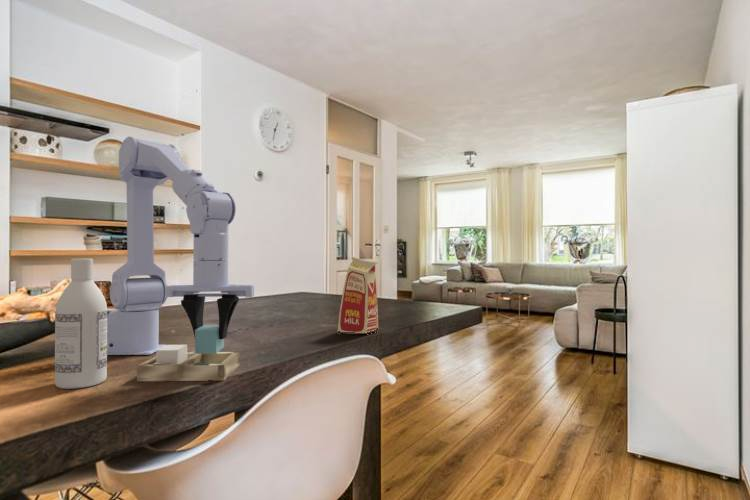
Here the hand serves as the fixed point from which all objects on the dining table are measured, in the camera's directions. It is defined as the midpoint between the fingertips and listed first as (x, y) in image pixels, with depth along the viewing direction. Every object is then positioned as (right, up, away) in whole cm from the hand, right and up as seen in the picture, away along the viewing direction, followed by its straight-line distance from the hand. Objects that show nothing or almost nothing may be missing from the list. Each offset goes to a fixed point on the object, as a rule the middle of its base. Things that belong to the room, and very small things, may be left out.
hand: (210, 338), depth 77 cm
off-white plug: (-6, -6, 0) cm, 9 cm away
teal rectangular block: (0, -2, 0) cm, 2 cm away
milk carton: (+25, -7, +40) cm, 48 cm away
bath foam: (-18, -6, -6) cm, 20 cm away
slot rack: (-3, -6, 0) cm, 7 cm away
